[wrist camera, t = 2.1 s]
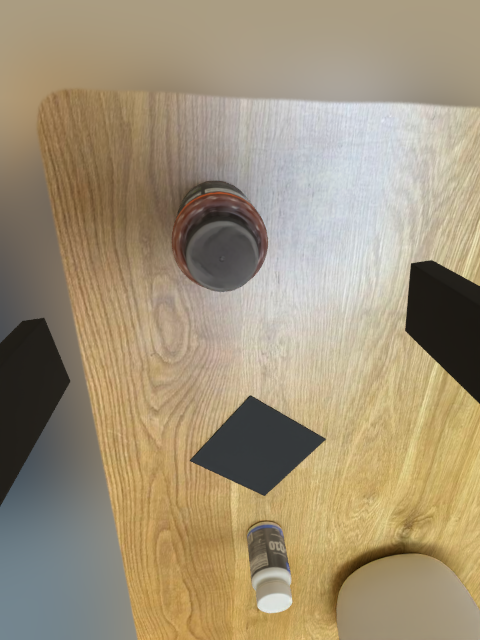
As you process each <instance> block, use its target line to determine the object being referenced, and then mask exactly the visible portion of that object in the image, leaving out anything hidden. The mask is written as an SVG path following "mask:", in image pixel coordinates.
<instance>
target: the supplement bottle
mask: <svg viewBox="0 0 480 640" xmlns="http://www.w3.org/2000/svg"><path fill="white" fill-rule="evenodd" d="M267 249H268V237H267V232H266V228H265V225H264V222H263V220H262V218H261V217H260V215H259V214H258V212H257V211H256V209H255V208H254V207H253V205H252V204H251V203H250V202H249V200H248V199H247V198H246V196H245V195H244V194H243V193H242V192H241V191H240V190H239V189H238V188H236V187H235V186H233V185H231V184H229V183H226V182H222V181H209V182H205V183H202V184H200V185H198V186H196V187H195V188H193V189H192V190H191V191H190V192H189V193H188V194H187V195H186V196H185V198H184V199H183V201H182V203H181V205H180V208H179V211H178V214H177V217H176V220H175V224H174V227H173V232H172V250H173V255H174V258H175V260H176V262H177V264H178V266H179V268H180V269H181V271H182V272H183V273H184V274H185V275H186V276H187V277H188V278H189V279H190V280H191V281H193V282H194V283H196V284H198V285H200V286H202V287H205V288H207V289H210V290H213V291H219V292H225V291H232V290H235V289H237V288H239V287H241V286H243V285H244V284H246V283H247V282H248V281H249V280H250V279H251V278H253V277H254V276H255V274H256V273H257V272H258V271H259V269H260V268H261V266H262V264H263V262H264V260H265V257H266V254H267Z"/></svg>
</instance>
